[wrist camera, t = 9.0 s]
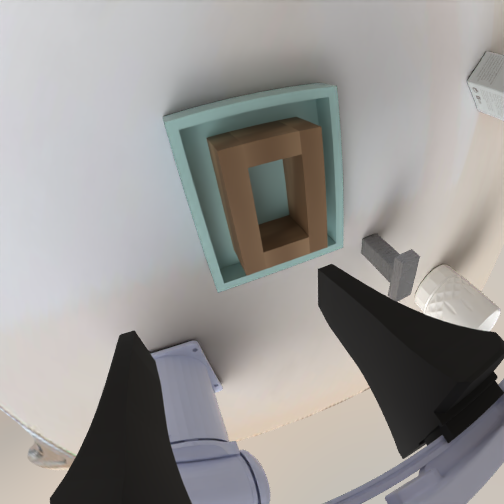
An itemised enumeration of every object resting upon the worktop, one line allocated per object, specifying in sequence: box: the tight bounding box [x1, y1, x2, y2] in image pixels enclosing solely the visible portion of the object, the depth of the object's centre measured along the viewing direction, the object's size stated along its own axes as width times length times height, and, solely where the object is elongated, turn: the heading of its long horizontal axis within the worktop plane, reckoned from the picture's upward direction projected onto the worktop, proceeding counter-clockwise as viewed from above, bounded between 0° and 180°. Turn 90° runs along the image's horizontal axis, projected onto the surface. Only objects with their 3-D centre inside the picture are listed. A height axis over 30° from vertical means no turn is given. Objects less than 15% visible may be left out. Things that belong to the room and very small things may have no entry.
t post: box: [362, 234, 420, 302], centre depth 24 cm, size 4×2×6 cm, turn 10°
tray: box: [163, 83, 343, 293], centre depth 19 cm, size 12×10×2 cm
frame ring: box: [206, 117, 328, 276], centre depth 18 cm, size 6×8×3 cm
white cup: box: [415, 264, 501, 331], centre depth 31 cm, size 8×8×10 cm
